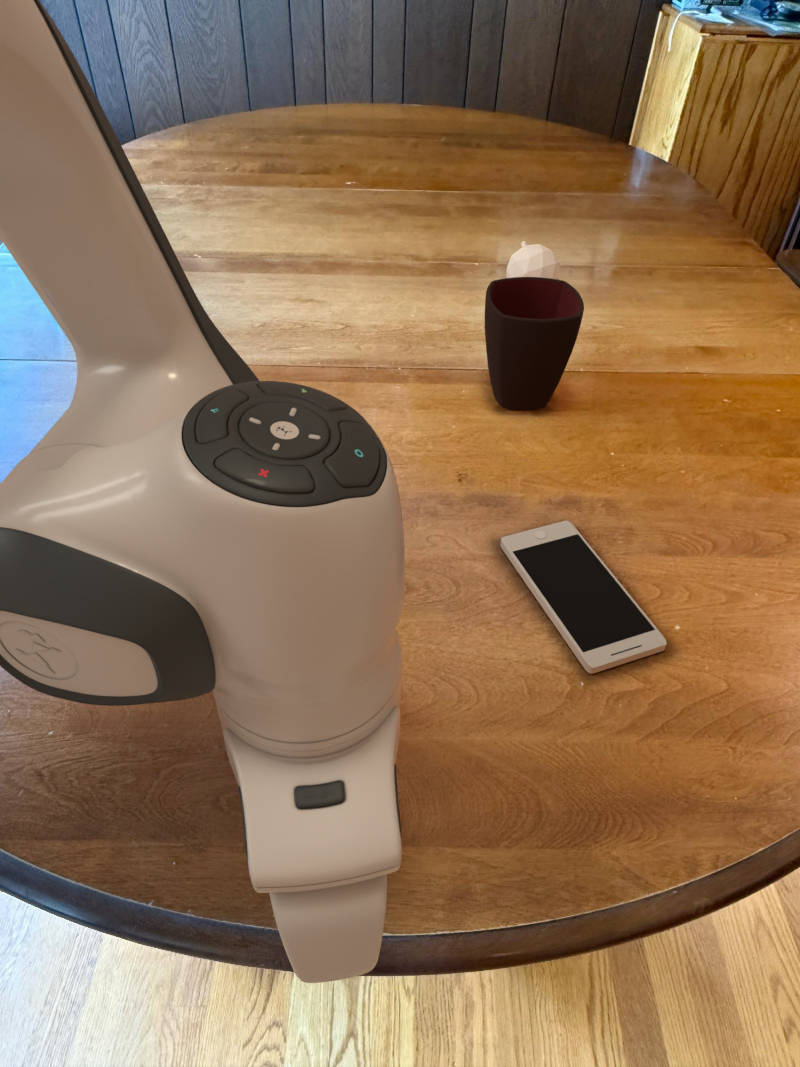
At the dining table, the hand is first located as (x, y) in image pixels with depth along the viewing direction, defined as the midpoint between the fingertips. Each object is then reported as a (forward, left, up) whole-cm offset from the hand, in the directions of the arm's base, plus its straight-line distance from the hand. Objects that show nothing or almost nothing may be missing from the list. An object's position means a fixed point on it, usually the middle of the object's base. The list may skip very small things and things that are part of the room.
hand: (323, 830), depth 47 cm
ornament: (+35, +73, -3) cm, 81 cm away
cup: (+27, +51, -3) cm, 57 cm away
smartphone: (+23, +19, -3) cm, 30 cm away
